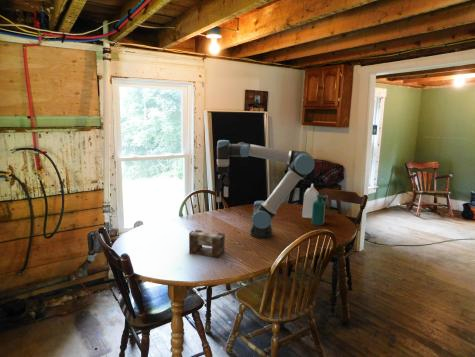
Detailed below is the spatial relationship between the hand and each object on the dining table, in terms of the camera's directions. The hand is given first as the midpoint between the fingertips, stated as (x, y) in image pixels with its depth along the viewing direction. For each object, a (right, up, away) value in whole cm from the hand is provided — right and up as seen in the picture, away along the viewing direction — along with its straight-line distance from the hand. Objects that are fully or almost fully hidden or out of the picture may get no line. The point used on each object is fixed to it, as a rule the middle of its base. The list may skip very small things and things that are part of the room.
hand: (222, 199), depth 208 cm
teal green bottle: (+70, -21, +41) cm, 84 cm away
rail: (-8, -25, -16) cm, 31 cm away
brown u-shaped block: (-8, -30, -15) cm, 35 cm away
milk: (+68, -17, +61) cm, 93 cm away
